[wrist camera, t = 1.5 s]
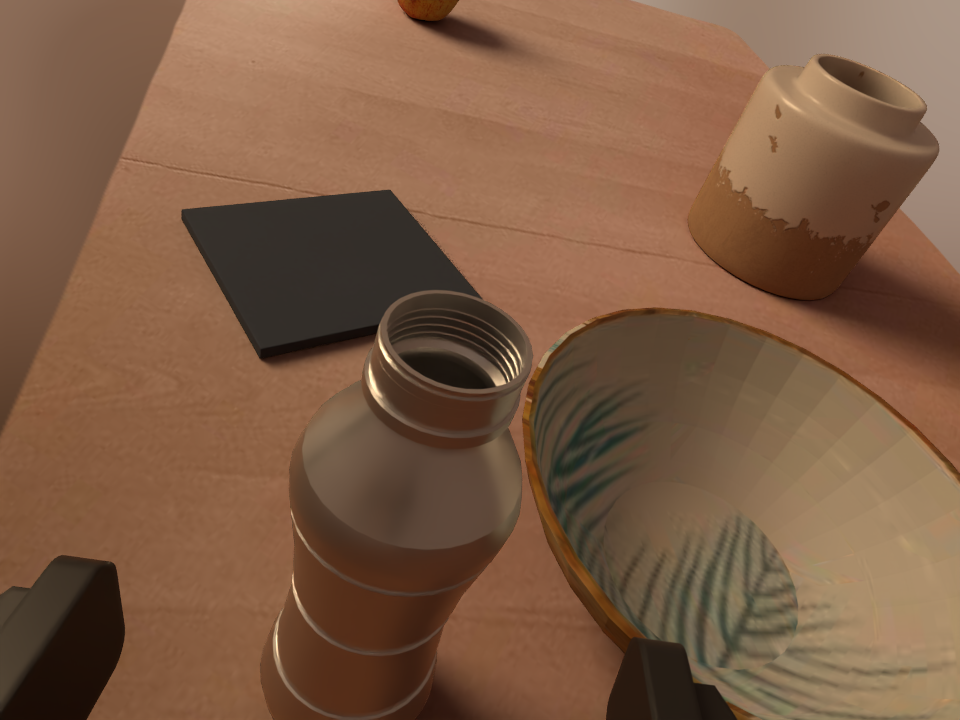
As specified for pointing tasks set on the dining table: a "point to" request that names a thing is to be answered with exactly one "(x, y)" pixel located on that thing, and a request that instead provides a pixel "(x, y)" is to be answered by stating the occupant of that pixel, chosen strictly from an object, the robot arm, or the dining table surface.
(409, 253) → the mat
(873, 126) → the vase
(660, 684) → the robot arm
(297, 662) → the silver metal bottle
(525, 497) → the dining table surface
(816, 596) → the bowl
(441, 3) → the apple
